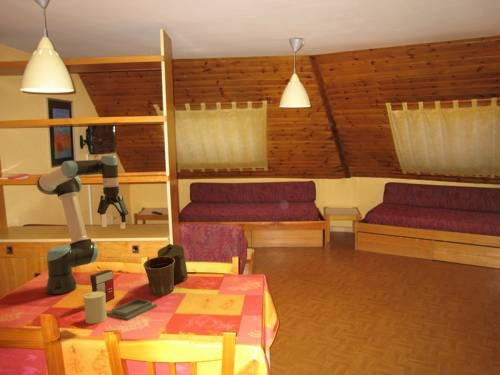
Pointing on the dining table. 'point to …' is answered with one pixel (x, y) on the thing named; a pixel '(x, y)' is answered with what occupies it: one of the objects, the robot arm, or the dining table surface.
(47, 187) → the robot arm
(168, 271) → the plant pot
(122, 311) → the tray
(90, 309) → the can
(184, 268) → the wooden container
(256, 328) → the dining table surface
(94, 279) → the red and grey box
